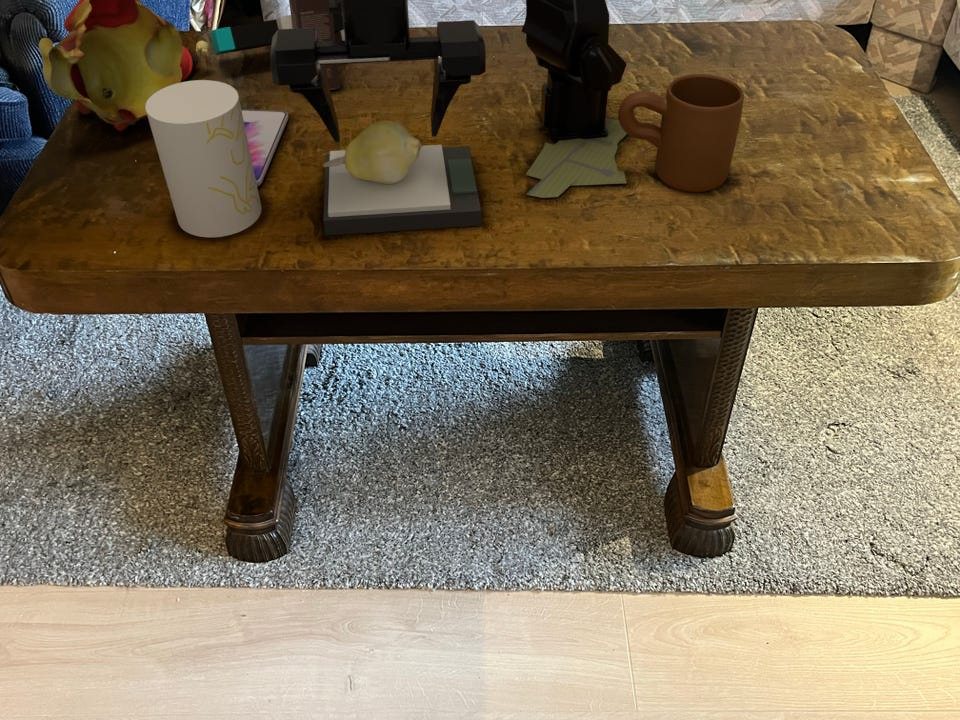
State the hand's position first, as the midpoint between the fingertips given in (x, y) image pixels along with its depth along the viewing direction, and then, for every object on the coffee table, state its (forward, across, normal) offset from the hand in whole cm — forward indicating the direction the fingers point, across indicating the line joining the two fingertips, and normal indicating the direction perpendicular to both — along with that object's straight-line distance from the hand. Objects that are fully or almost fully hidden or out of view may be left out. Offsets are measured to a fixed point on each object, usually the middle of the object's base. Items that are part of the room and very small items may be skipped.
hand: (386, 137), depth 85 cm
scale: (+7, -1, 0) cm, 7 cm away
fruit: (+4, +2, 0) cm, 5 cm away
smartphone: (+7, +16, -11) cm, 20 cm away
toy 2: (+3, +20, -30) cm, 37 cm away
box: (+7, +8, -26) cm, 28 cm away
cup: (+7, +17, +1) cm, 18 cm away
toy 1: (+2, +24, -15) cm, 28 cm away
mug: (+7, -29, -1) cm, 30 cm away
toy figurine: (+7, +25, -28) cm, 38 cm away
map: (+7, -21, -5) cm, 23 cm away
